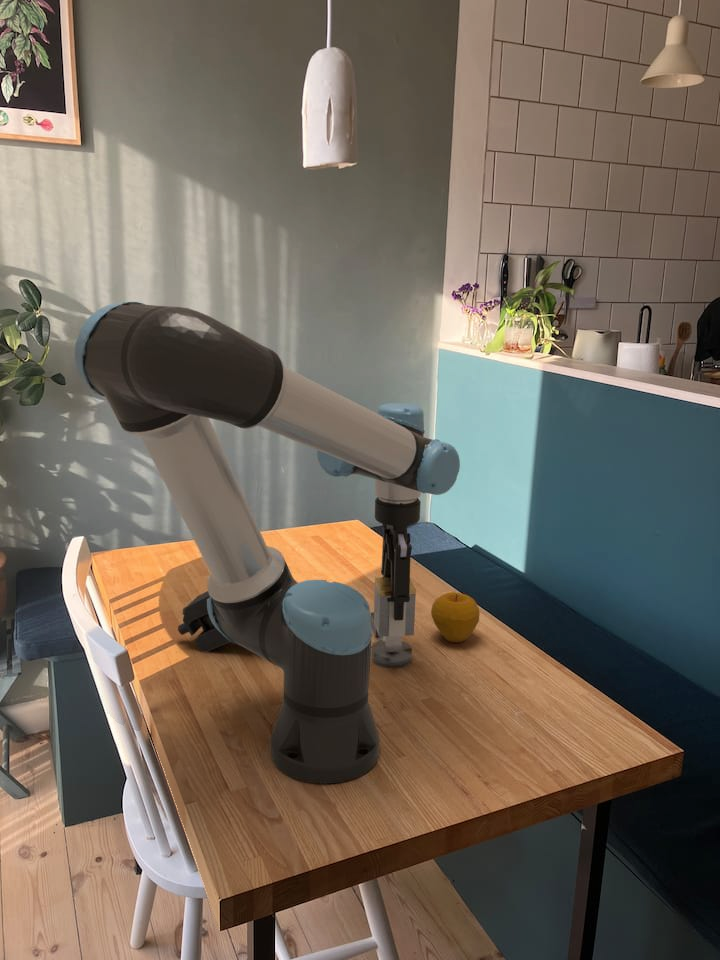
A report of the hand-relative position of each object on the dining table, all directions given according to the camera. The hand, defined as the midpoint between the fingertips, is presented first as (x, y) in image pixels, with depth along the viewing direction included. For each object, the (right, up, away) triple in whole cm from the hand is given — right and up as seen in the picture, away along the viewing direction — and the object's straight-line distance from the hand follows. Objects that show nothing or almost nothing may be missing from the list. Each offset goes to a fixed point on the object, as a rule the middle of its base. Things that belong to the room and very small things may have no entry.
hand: (393, 626), depth 139 cm
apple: (+12, -4, +10) cm, 16 cm away
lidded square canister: (0, 0, 0) cm, 0 cm away
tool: (-28, -5, +4) cm, 28 cm away
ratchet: (-1, -4, +7) cm, 8 cm away
